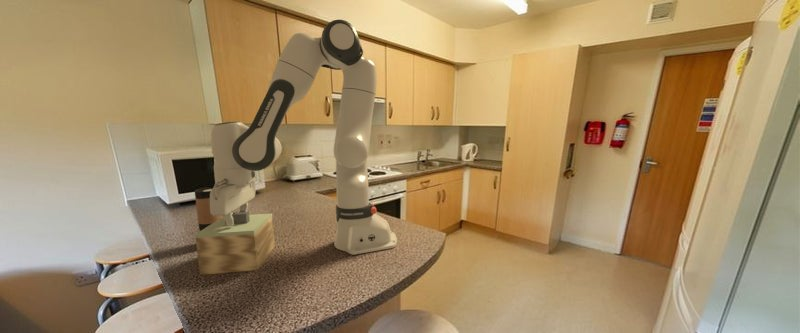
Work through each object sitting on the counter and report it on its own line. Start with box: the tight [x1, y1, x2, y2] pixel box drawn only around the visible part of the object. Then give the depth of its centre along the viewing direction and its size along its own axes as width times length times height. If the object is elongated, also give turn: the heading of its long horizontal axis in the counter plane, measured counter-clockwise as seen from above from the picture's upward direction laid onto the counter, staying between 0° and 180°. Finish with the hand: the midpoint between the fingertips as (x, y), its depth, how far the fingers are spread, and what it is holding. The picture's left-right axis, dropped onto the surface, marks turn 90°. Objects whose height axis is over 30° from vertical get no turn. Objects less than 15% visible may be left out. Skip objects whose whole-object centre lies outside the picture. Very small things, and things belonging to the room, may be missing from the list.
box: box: [194, 216, 276, 276], centre depth 77 cm, size 15×15×11 cm
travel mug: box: [194, 187, 223, 232], centre depth 88 cm, size 8×8×20 cm
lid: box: [194, 211, 273, 239], centre depth 77 cm, size 15×15×5 cm
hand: (237, 220), depth 76 cm, fingers open, 6 cm apart
